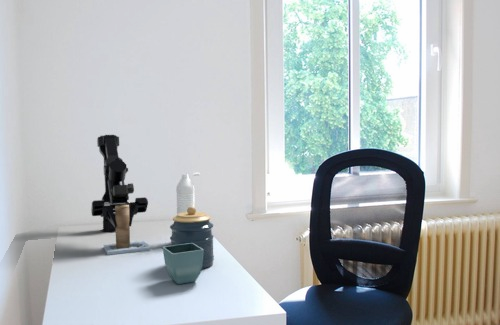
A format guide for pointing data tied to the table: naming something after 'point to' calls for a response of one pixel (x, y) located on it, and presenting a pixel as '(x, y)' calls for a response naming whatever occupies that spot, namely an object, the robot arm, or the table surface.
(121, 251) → the keyhole plate
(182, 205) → the water bottle
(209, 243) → the canister
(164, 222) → the table surface
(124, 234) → the tan peg
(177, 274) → the flower pot
